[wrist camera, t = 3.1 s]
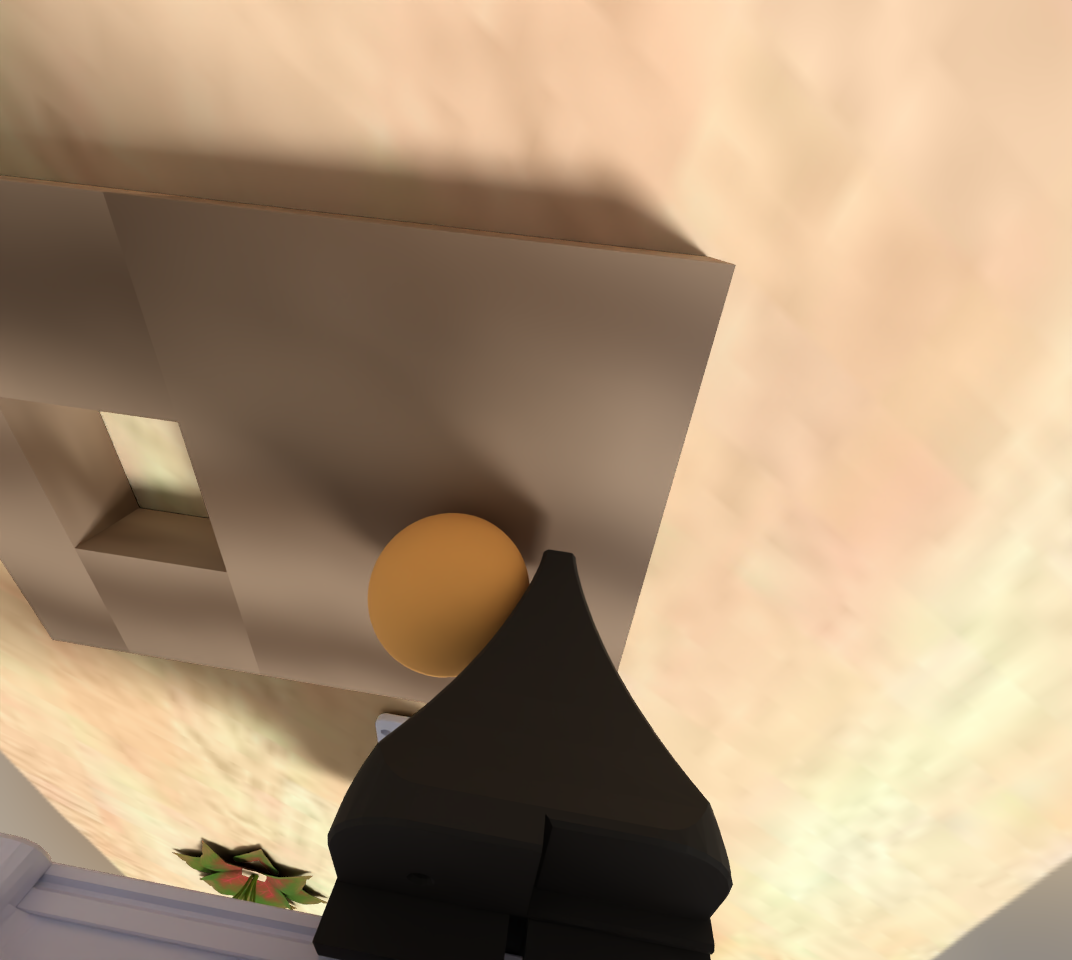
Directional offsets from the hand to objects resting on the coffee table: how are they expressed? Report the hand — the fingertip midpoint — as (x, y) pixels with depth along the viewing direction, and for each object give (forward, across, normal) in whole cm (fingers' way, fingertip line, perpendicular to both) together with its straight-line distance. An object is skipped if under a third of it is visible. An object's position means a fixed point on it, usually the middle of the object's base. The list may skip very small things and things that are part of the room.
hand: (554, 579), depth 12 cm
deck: (+3, +8, 0) cm, 9 cm away
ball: (-1, +3, 0) cm, 3 cm away
